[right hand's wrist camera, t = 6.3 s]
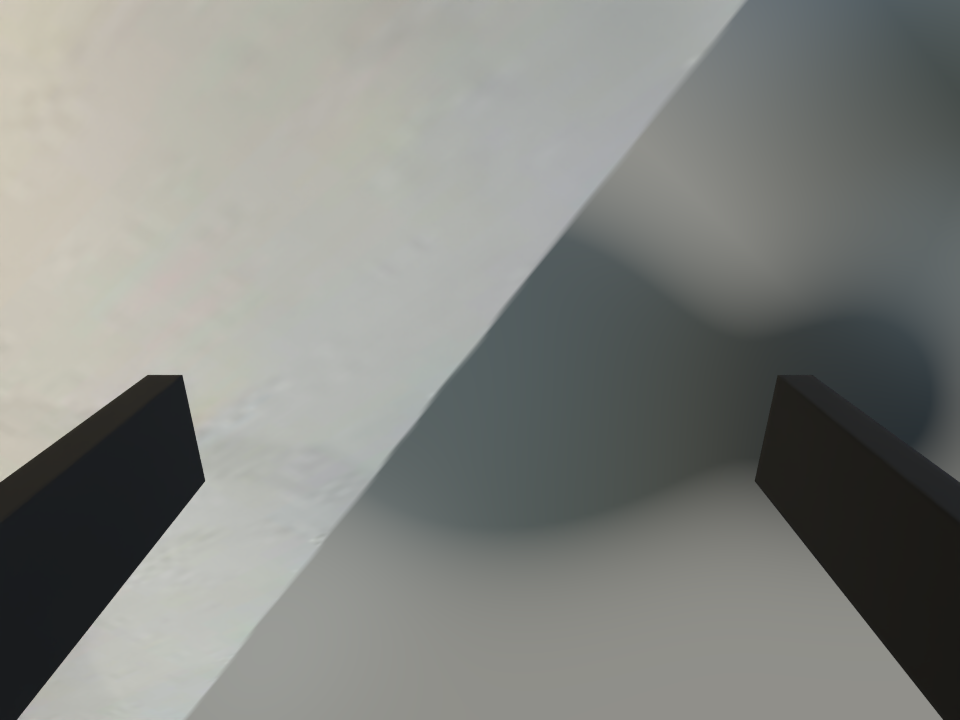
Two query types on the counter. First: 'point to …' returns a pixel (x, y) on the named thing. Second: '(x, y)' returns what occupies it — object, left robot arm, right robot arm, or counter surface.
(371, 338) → the counter surface
